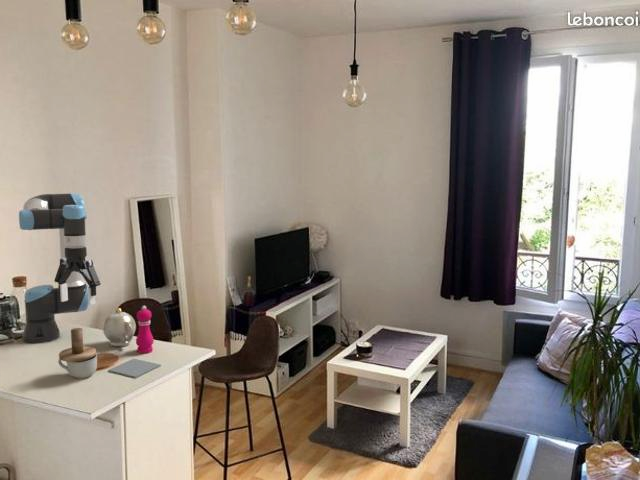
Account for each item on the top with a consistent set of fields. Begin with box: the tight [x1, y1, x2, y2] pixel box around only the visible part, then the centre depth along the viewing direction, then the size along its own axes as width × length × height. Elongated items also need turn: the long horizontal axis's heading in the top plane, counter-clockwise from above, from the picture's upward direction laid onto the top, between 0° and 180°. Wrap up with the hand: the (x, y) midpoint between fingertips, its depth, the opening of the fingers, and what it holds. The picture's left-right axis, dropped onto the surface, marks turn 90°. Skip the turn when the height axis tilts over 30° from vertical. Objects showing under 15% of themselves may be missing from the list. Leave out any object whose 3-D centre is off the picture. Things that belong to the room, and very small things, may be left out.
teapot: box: [102, 307, 137, 348], centre depth 256 cm, size 18×14×16 cm
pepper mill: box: [135, 305, 154, 355], centre depth 249 cm, size 7×7×20 cm
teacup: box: [57, 353, 98, 379], centre depth 223 cm, size 14×11×8 cm
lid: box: [58, 327, 97, 363], centre depth 221 cm, size 13×13×10 cm
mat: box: [107, 358, 162, 379], centre depth 231 cm, size 14×14×1 cm
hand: (78, 302), depth 220 cm, fingers open, 13 cm apart
